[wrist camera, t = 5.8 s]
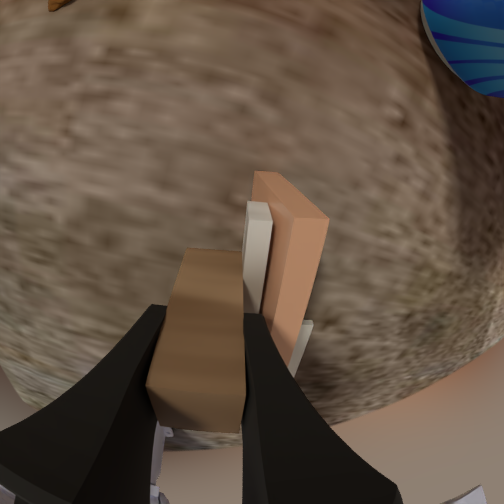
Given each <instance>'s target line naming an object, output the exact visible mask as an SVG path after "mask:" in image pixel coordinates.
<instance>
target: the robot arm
mask: <svg viewBox="0 0 504 504" xmlns="http://www.w3.org/2000/svg"><path fill="white" fill-rule="evenodd" d="M166 310H167V306H163V305H154V304H152V305H150V306H149V307H148V308H147V310H146V311H145V312H144V313H143V315H142V316H141V317H140V318H139V319H138V321H137V322H136V323H135V324H134V325H133V326H132V328H131V329H130V330H129V331H128V332H127V333H126V334H125V336H124V337H123V338H122V339H121V340H120V341H119V342H118V343H117V344H116V346H115V347H114V348H113V349H112V350H111V351H110V352H109V353H108V354H107V355H106V356H105V357H104V358H103V359H102V360H101V361H100V362H99V363H98V364H97V365H96V366H95V367H94V368H93V369H92V370H91V371H90V372H89V373H88V374H87V375H85V376H84V377H83V378H82V379H81V380H80V381H79V382H77V383H76V384H75V385H74V386H73V387H71V388H70V389H69V390H68V391H66V392H65V393H64V394H62V395H61V396H60V397H59V398H57V399H56V400H54V401H53V402H52V403H50V404H49V405H47V406H46V407H44V408H42V409H41V410H39V411H38V412H36V413H34V414H33V415H31V416H30V417H28V418H26V419H24V420H23V421H21V422H19V423H17V424H15V425H13V426H11V427H8V428H6V429H4V430H2V431H0V504H169V501H168V499H167V498H166V497H165V495H164V494H163V493H161V492H159V488H160V487H158V486H156V480H157V479H158V477H159V475H160V471H161V463H162V456H163V449H164V442H165V436H167V437H173V431H172V428H170V427H163V426H160V425H159V422H158V419H157V417H156V414H155V412H154V409H153V406H152V404H151V401H150V398H149V395H148V392H147V389H146V386H145V385H146V381H147V377H148V373H149V369H150V365H151V361H152V358H153V354H154V351H155V347H156V343H157V340H158V336H159V333H160V330H161V327H162V324H163V321H164V318H165V315H166ZM243 335H244V348H245V381H246V398H245V403H244V409H243V414H242V420H241V426H242V438H243V497H242V498H243V499H242V504H403V501H402V498H401V494H400V492H399V490H398V487H397V485H396V484H395V483H394V482H392V481H391V480H389V479H388V478H386V477H385V476H384V475H382V474H381V473H379V472H378V471H377V470H375V469H374V468H373V467H372V466H370V465H369V464H368V463H367V462H366V461H364V460H363V459H362V458H361V457H360V456H359V455H357V454H356V453H355V452H354V451H353V450H352V449H351V448H350V447H349V446H348V445H347V444H346V443H345V442H344V441H343V440H342V439H341V438H340V437H339V436H338V435H337V434H336V433H335V432H334V431H333V430H332V429H331V428H330V427H329V425H328V424H327V423H326V422H325V421H324V419H323V418H322V417H321V416H320V415H319V413H318V412H317V411H316V410H315V408H314V407H313V406H312V404H311V403H310V402H309V400H308V399H307V398H306V396H305V395H304V393H303V392H302V390H301V389H300V387H299V386H298V384H297V383H296V381H295V379H294V378H293V376H292V375H291V373H290V371H289V369H288V368H287V366H286V364H285V362H284V360H283V359H282V357H281V355H280V353H279V351H278V349H277V347H276V345H275V343H274V341H273V338H272V336H271V334H270V332H269V329H268V327H267V324H266V321H265V318H264V316H263V315H262V314H256V313H244V318H243ZM441 504H487V502H486V498H485V495H484V491H483V488H482V485H478V486H476V487H475V488H473V489H471V490H469V491H467V492H465V493H464V494H462V495H460V496H458V497H456V498H453V499H451V500H448V501H446V502H444V503H441Z"/></svg>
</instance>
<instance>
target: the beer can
mask: <svg viewBox="0 0 504 504" xmlns="http://www.w3.org/2000/svg"><path fill="white" fill-rule="evenodd" d="M421 18H422V22H423V26H424V29H425V32H426V34H427V36H428V39H429V41H430V43H431V44H432V46H433V48H434V50H435V51H436V53H437V54H438V56H439V57H440V58H441V60H442V61H443V62H444V63H445V65H446V66H447V67H448V68H449V69H450V70H451V71H452V72H453V73H454V74H456V75H457V76H458V77H459V78H460V79H461V80H462V81H463V82H464V83H465V84H467V85H468V86H469V87H470V88H472V89H473V90H475V91H477V92H478V93H481V94H483V95H487V96H494V97H500V98H504V0H421Z"/></svg>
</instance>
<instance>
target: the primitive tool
mask: <svg viewBox="0 0 504 504" xmlns="http://www.w3.org/2000/svg"><path fill="white" fill-rule="evenodd" d="M69 1H71V0H49V1H48V9H49V11H55V10H56V9H58V8H60V7H61V6H63V5H64V4H66V3H68V2H69Z"/></svg>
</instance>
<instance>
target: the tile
mask: <svg viewBox="0 0 504 504" xmlns="http://www.w3.org/2000/svg"><path fill="white" fill-rule="evenodd" d="M251 201H255V202H266V203H268V206H269V210H270V213H271V217H272V220H273V225H272V231H271V238H270V245H269V251H268V258H267V265H266V271H265V278H264V284H263V290H262V297H261V303H260V309H259V314H262V315H263V316H264V318H265V321H266V324H267V327H268V329H269V332H270V334H271V336H272V338H273V341H274V343H275V345H276V347H277V349H278V351H279V353H280V355H281V357H282V359H283V360H284V362H285V364H286V366H287V368H288V365H289V362H290V359H291V356H292V353H293V350H294V347H295V344H296V341H297V337H298V334H299V331H300V328H301V325H302V321H303V318H304V315H305V311H306V308H307V305H308V301H309V298H310V294H311V291H312V287H313V283H314V280H315V276H316V272H317V269H318V265H319V261H320V257H321V253H322V249H323V245H324V241H325V237H326V233H327V229H328V225H329V220H330V219H329V218H328V217H327V216H326V215H325V214H324V213H322V212H321V211H320V210H319V209H318V208H317V207H316V206H315V205H314V204H313V203H312V202H311V201H310V200H308V199H307V198H306V197H305V196H304V195H303V194H302V193H301V192H300V191H298V190H297V189H296V188H295V187H294V186H293V185H292V184H291V183H289V182H288V181H287V180H286V179H285V178H284V177H283V176H281V175H280V174H279V173H276V172H265V171H255V172H254V180H253V189H252V198H251Z"/></svg>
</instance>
